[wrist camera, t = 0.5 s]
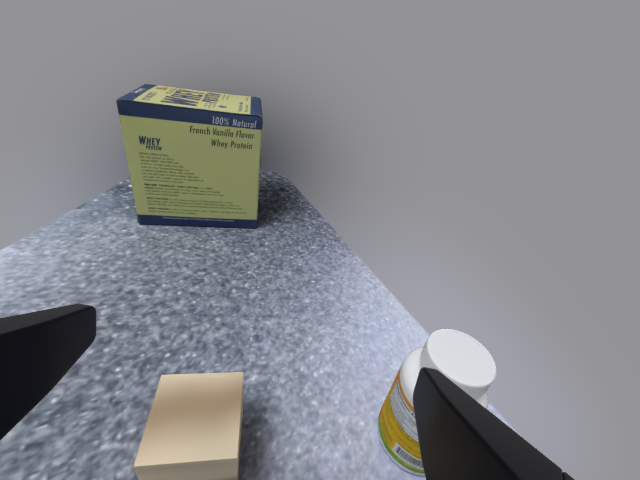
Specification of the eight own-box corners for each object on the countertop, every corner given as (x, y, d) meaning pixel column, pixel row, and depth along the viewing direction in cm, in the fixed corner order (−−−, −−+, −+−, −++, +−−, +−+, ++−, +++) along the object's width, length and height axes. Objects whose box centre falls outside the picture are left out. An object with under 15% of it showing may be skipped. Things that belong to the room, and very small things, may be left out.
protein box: (258, 229, 44) (264, 114, 36) (137, 225, 41) (111, 97, 32) (257, 196, 53) (261, 97, 44) (156, 191, 49) (140, 81, 41)
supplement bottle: (424, 396, 27) (470, 316, 21) (462, 468, 22) (532, 390, 17) (365, 406, 25) (400, 322, 20) (394, 486, 21) (448, 407, 16)
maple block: (237, 494, 19) (237, 457, 17) (148, 504, 18) (133, 466, 16) (242, 412, 23) (243, 372, 21) (170, 416, 22) (161, 374, 20)
